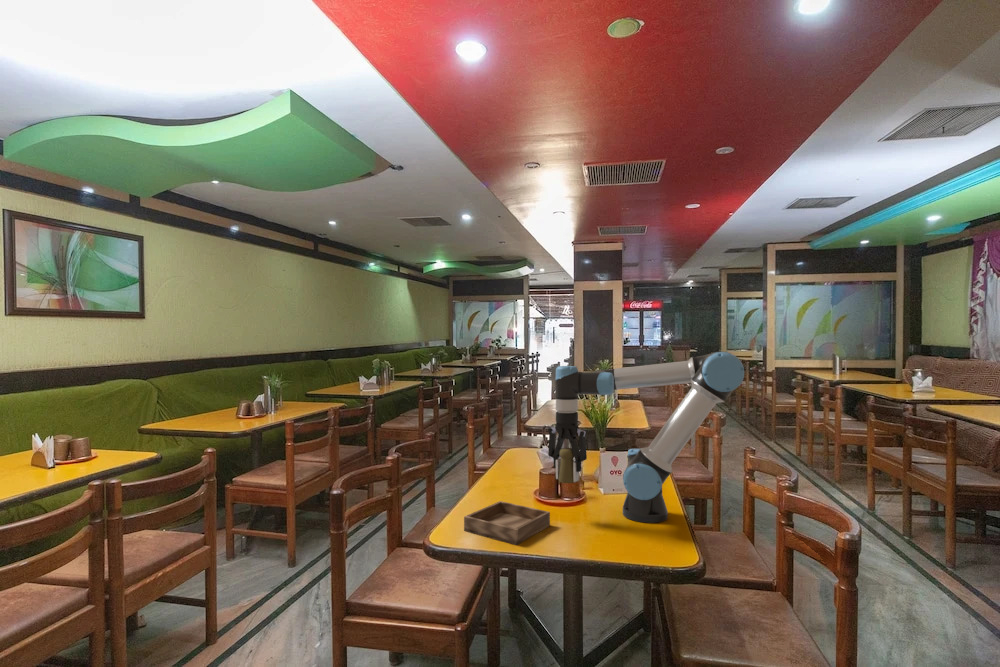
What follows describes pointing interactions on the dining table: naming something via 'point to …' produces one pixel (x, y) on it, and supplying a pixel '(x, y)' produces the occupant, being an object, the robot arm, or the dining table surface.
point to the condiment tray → (507, 522)
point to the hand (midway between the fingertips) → (567, 479)
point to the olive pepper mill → (566, 465)
